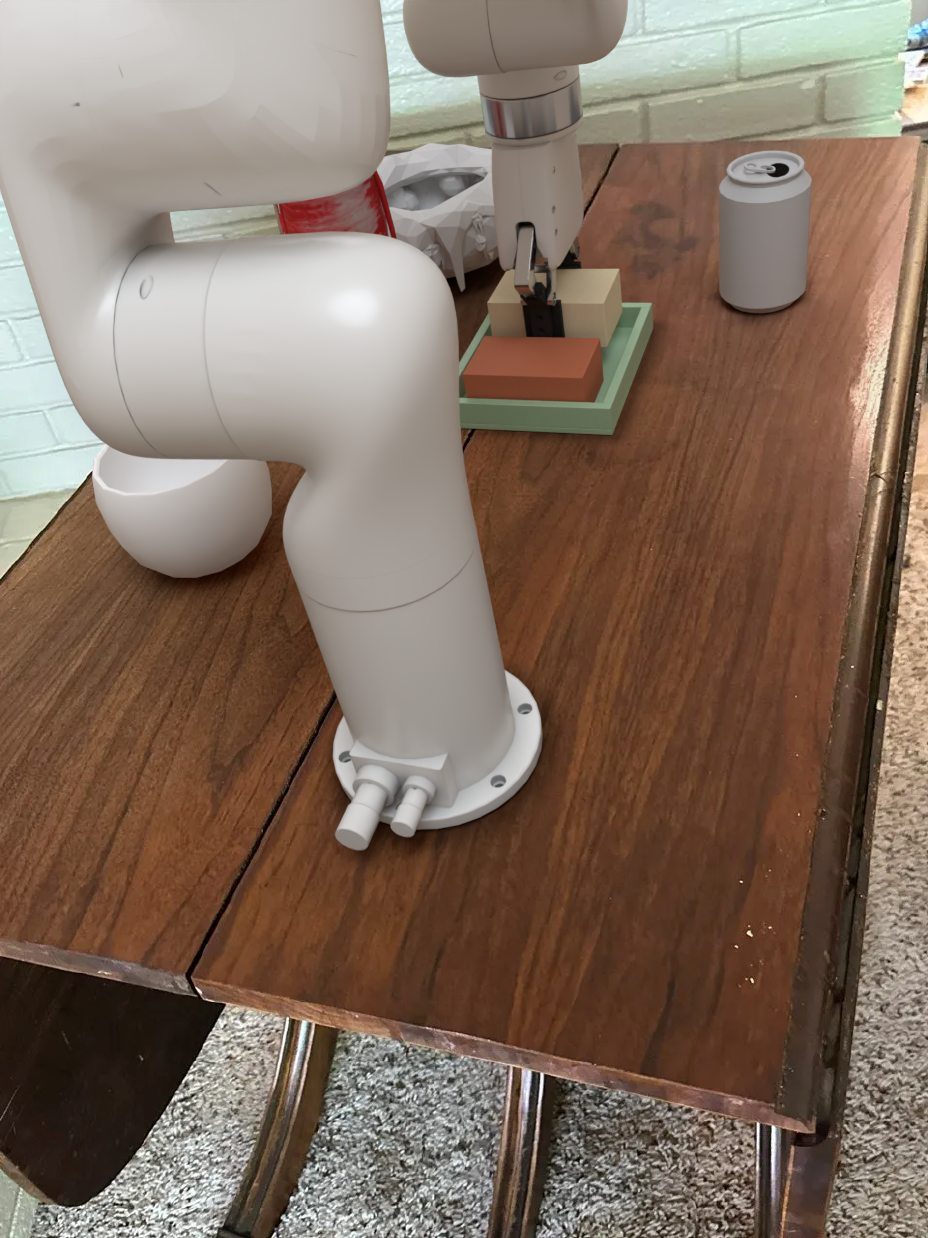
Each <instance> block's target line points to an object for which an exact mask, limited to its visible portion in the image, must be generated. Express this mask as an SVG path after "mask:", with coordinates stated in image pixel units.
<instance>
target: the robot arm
mask: <svg viewBox="0 0 928 1238" xmlns="http://www.w3.org/2000/svg"><path fill="white" fill-rule="evenodd" d="M402 3H403V4H402V20H403V21H402V22H403V29H404V34H405V38H406V40H407V44H408V46H409V49H410V51H411V53H412V55H413V56H414V58H415V59H416V61H417V62H418V64H420V66H421V67H423V68H424V69H425V70H427V71H428V72H430V73H432V74H434V75H437V76H441V77H445V78H468V77H469V78H471V77H476V78H477V80H476V81H477V84H478V85H477V87H478V92H479V97H480V98H479V100H480V106H481V113H482V119H483V126H484V135H485V138H486V139H487V141H488V142H490V143H492V145H491V149H492V190H493V204H494V214H495V225H496V235H497V244H498V253H499V257H498V260H499V265H500V268H501V269H502V270H503V271H504V272H506V271H510V270H511V269H515V276H514V288H515V289H516V291H517V292H518V294H520V302H521V305H522V307H523V315H524V322H525V329H526V337H554V338H565V332H564V323H563V314H562V305H561V300H556V269H583V268H582V260H580V258H581V246H580V242H579V238H578V234H579V232H580V231H581V227H582V225H583V221H584V215H585V214H584V211H585V210H584V209H585V208H584V190H583V189H584V188H583V178H582V171H581V169H582V168H581V162H580V153H579V146H578V139H577V132H576V131H577V130H579V129H580V127H581V126H582V125H583V123H584V112H583V111H584V110H583V109H584V108H583V98H582V97H583V96H582V86H581V74H580V65H588V64H592V63H595V62H597V61H600V60H602V59H604V58H605V57H607V56H608V55H609V54H610V53H611V52H612V51H613V50H614V49H615V48H616V47H617V45H618V44H619V42H620V40H621V38H622V36H623V33H624V29H625V26H626V23H627V17H628V7H629V0H403V2H402ZM381 6H382V5H381V0H0V195H1V198H2V200H3V204H4V206H5V207H4V208H5V209H6V212H7V217H8V219H9V222H10V225H11V228H12V231H13V234H14V238H15V241H16V243H17V247H18V251H19V253H20V255H21V256H20V257H21V259H22V263H23V265H24V268H25V273H26V275H27V278H28V281H29V285H30V288H31V290H32V293H33V297H34V300H35V303H36V306H37V310H38V313H39V315H40V319H41V321H42V324H43V328H44V331H45V334H46V337H47V340H48V343H49V346H50V349H51V353H52V355H53V358H54V361H55V364H56V367H57V370H58V372H59V375H60V379H61V380H62V383H63V385H64V388H65V390H66V392H67V394H68V397H69V398H70V401H71V403H72V406H73V407H74V409H75V411H76V412H77V414H78V415H79V417H80V419H81V420H82V422H83V423H84V424H85V425H86V427H87V428H88V429H89V430H90V432H91V433H93V435H94V436H95V437H97V438H98V440H99V441H101V442H103V443H104V444H107V445H108V446H110V447H111V448H113V449H115V450H117V451H120V452H122V453H125V454H128V455H132V456H137V457H143V458H154V459H181V460H257V461H266V462H283V463H290V464H294V465H297V466H300V467H302V468H303V469H304V470H305V472H304V473H303V475H302V476H301V478H300V479H299V481H298V483H297V484H296V487H295V488H294V490H293V492H292V494H291V495H290V498H289V500H288V503H287V505H286V509H285V512H284V516H283V522H282V541H283V549H284V552H285V556H286V560H287V563H288V565H289V568H290V572H291V574H292V577H293V579H294V582H295V584H296V587H297V589H298V592H299V595H300V599H301V601H302V603H303V607H304V610H305V612H306V614H307V618H308V620H309V623H310V626H311V629H312V631H313V634H314V637H315V640H316V643H317V646H318V648H319V651H320V653H321V656H322V659H323V661H324V664H325V667H326V670H327V673H328V676H329V679H330V681H331V684H332V686H333V690H334V693H335V695H336V697H337V701H338V703H339V706H340V709H341V711H342V714H343V715H342V717H341V719H340V721H339V723H338V725H337V728H336V732H335V735H334V739H333V742H332V743H333V744H332V760H333V765H334V769H335V773H336V776H337V778H338V780H339V782H340V786H341V788H342V790H343V791H344V793H345V794H346V795H347V797H348V799H349V800H350V801H351V802H350V803H348V805H347V807H346V809H345V811H344V814H343V815H342V817H341V820H340V822H339V824H338V826H337V828H336V830H335V832H334V837H335V839H336V841H338V842H339V843H340V844H341V845H342V846H344V847H346V848H348V849H350V850H354V851H365V850H366V849H368V847H369V845H370V843H371V841H372V839H373V836H374V834H375V832H376V830H377V827H378V826H379V823H380V822H381V823H384V824H387V825H390V829H391V831H392V832H393V833H394V834H396V835H397V836H400V837H404V838H412V837H413V836H415V833H416V831H417V830H439V829H445V828H451V827H456V826H460V825H462V824H463V825H464V824H465V823H469V822H471V821H474V820H477V819H479V818H482V817H484V816H486V815H487V814H489V813H490V812H493V811H495V810H496V809H498V808H499V807H501V806H502V805H504V804H505V803H506V802H507V801H508V800H510V799H511V798H513V796H515V795H516V794H517V792H519V790H520V789H521V788H522V787H523V786H524V784H525V783H526V782H528V780H529V778H530V776H531V774H532V773H533V771H534V769H535V768H536V766H537V765H538V761H539V758H540V754H541V752H542V748H543V747H542V746H543V737H544V733H543V725H542V718H541V714H540V711H539V707H538V703H537V701H536V700H535V698H534V696H533V695H532V692H531V691H530V689H529V688H528V687H527V686H526V685H525V684H524V683H523V682H522V681H521V680H520V679H519V678H518V677H516V676H515V675H513V674H512V673H511V672H510V671H507V670H506V669H505V666H504V665H505V664H504V660H503V655H502V650H501V645H500V639H499V635H498V630H497V626H496V621H495V615H494V610H493V606H492V601H491V600H492V599H491V596H490V595H491V594H490V590H489V585H488V580H487V575H486V570H485V565H484V560H483V556H482V550H481V545H480V541H479V535H478V529H477V526H476V522H475V521H476V520H475V517H474V511H473V506H472V501H471V494H470V491H469V484H468V479H467V478H468V477H467V472H466V467H465V466H466V465H465V458H464V449H463V442H462V428H461V426H460V407H459V362H460V350H459V349H460V347H459V346H460V343H459V342H460V341H459V327H458V318H457V312H456V305H455V301H454V297H453V293H452V290H451V287H450V285H449V283H448V281H447V278H445V277H444V275H443V273H442V272H441V270H440V269H439V268H438V266H437V265H436V264H435V263H434V262H433V261H432V260H431V259H430V258H429V257H428V256H427V255H426V254H424V253H423V252H422V251H420V250H419V249H417V248H415V247H414V246H412V245H410V244H408V243H405V242H403V241H401V240H398V239H394V238H391V237H387V236H383V235H378V234H370V233H361V232H340V231H328V232H314V233H297V234H285V233H284V234H281V235H280V234H268V235H266V234H265V235H251V236H240V237H238V238H224V239H222V238H221V239H205V240H192V241H175V236H174V231H173V226H172V219H171V213H174V212H175V213H176V212H189V211H190V212H191V211H203V210H217V209H229V208H231V209H232V208H246V207H259V206H270V205H273V204H278V205H279V204H281V203H289V202H297V201H305V200H311V199H316V198H322V197H327V196H332V195H336V194H339V193H341V192H344V191H347V190H349V189H352V188H354V187H357V186H358V185H360V184H361V183H363V182H364V181H365V180H367V179H368V178H369V177H371V176H372V175H373V174H374V172H375V171H376V169H377V168H378V166H379V165H380V163H381V162H382V160H383V158H384V157H385V156H386V153H387V150H388V145H389V143H390V133H391V121H392V120H391V118H392V117H391V116H392V115H391V114H392V113H391V91H390V89H391V88H390V74H389V64H388V54H387V44H386V38H385V37H386V36H385V29H384V22H383V14H382V13H383V12H382V7H381ZM537 258H542V259H546V261H545V260H544V262H543V263H536V259H537ZM514 267H515V268H514ZM534 273H546V287H545V286H544V285H543V283H542V282H537V281H536V278H535V274H534Z"/></svg>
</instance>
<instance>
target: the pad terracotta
mask: <svg viewBox="0 0 928 1238" xmlns="http://www.w3.org/2000/svg"><path fill="white" fill-rule="evenodd" d="M462 375H463V380H464V386H465V391H466V396H467V398H481V399H508V400H536V401H563V402H591V403H595V400H596V398H597V395H598V393H599V391H600V388H601V386H602V383H603V381H604V378H603V366H602V355H601V343H600V338H554V337H496V336H484V338H483V340H482V341H481V343H480V345H479V347H478V348H477V350H476V352H475V354H474V355H473V357H472V359H471V360H470V362H469V364H468V366H467V367H466V369H465V371H464V372H463V374H462Z"/></svg>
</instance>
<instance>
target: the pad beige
mask: <svg viewBox="0 0 928 1238" xmlns="http://www.w3.org/2000/svg"><path fill="white" fill-rule="evenodd" d="M534 274H535V278H536V281H537V282H542V283H543V285H544V286H545V287H546V273H534ZM514 276H515V268H513V269H511V270H510V271H504V274H503V276H502V277H501V278H500V280H499V283H498V284H497V286H496V287H495V289H494V291H493V292H492V294H491V295H490V297H489V299H488V301H487V302H486V304H487V311H488V313H489V318H490V324H491V330H492V336H496V337H526V329H525V322H524V315H523V307H522V305H521V302H520V294H518V292H517V291H516V289H515V288H514ZM556 300H561V305H562V314H563V323H564V332H565V338H600V343H601V347H607V346H608V344H609V341H610V339H611V337H612V334H613V332H614V330H615V327H616V325H617V323H618V320H619V318H620V316H621V314H622V303H623V299H622V286H621V271H620V268H582V269H556Z"/></svg>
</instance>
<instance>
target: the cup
mask: <svg viewBox="0 0 928 1238" xmlns="http://www.w3.org/2000/svg"><path fill="white" fill-rule="evenodd" d="M271 480H272V479H271V472H270V469H269V466H268V463H267V461H257V460H181V459H154V458H143V457H137V456H132V455H128V454H125V453H122V452H120V451H117V450H115V449H113V448H111V447H110V446H108V445H107V444H105V443H104V444H103V446H102V447H101V449H100V450H99V452H98V453H97V454H96V456H95V457H94V459H93V462H92V474H91V481H92V487H93V494H94V500H95V504H96V506H97V508H98V510H99V512H100V515H101V517H102V518H103V520H104V522H105V524H106V527H107V529H108V530H109V532H110V533H111V534H112V536H113V537H114V539H116V541H117V542H118V544H119V545H120V546H121V547H122V548H123V549H124V550H125V551H126V552H127V553H128V554H129V555H130V556H131V557H132V558H133V559H134V560H135V561H136V562H137V563H138V564H139V565H140V566H141V567H145V568H148V569H150V570H152V571H155V572H158V573H160V574H163V575H166V576H169V577H171V578H179V579H180V578H181V579H182V578H183V579H184V578H189V579H190V578H191V579H194V578H195V579H196V578H200V577H204V576H209V575H213V574H216V573H221V572H223V571H225V570H226V569H229V568H231V567H232V566H233V565H235V564H237V563H238V562H241V561H242V560H244V559H245V558H246V556H248V555H249V554H250V553H251V552H252V551H253V550H254V549H256V547H257V546H259V543H260V541H261V540H262V537H263V535H264V533H265V531H266V528H267V526H268V524H269V521H270V520H271V517H272V515H273V499H272V497H273V496H272V495H273V494H272V493H273V490H272V489H273V488H272V482H271Z"/></svg>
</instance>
